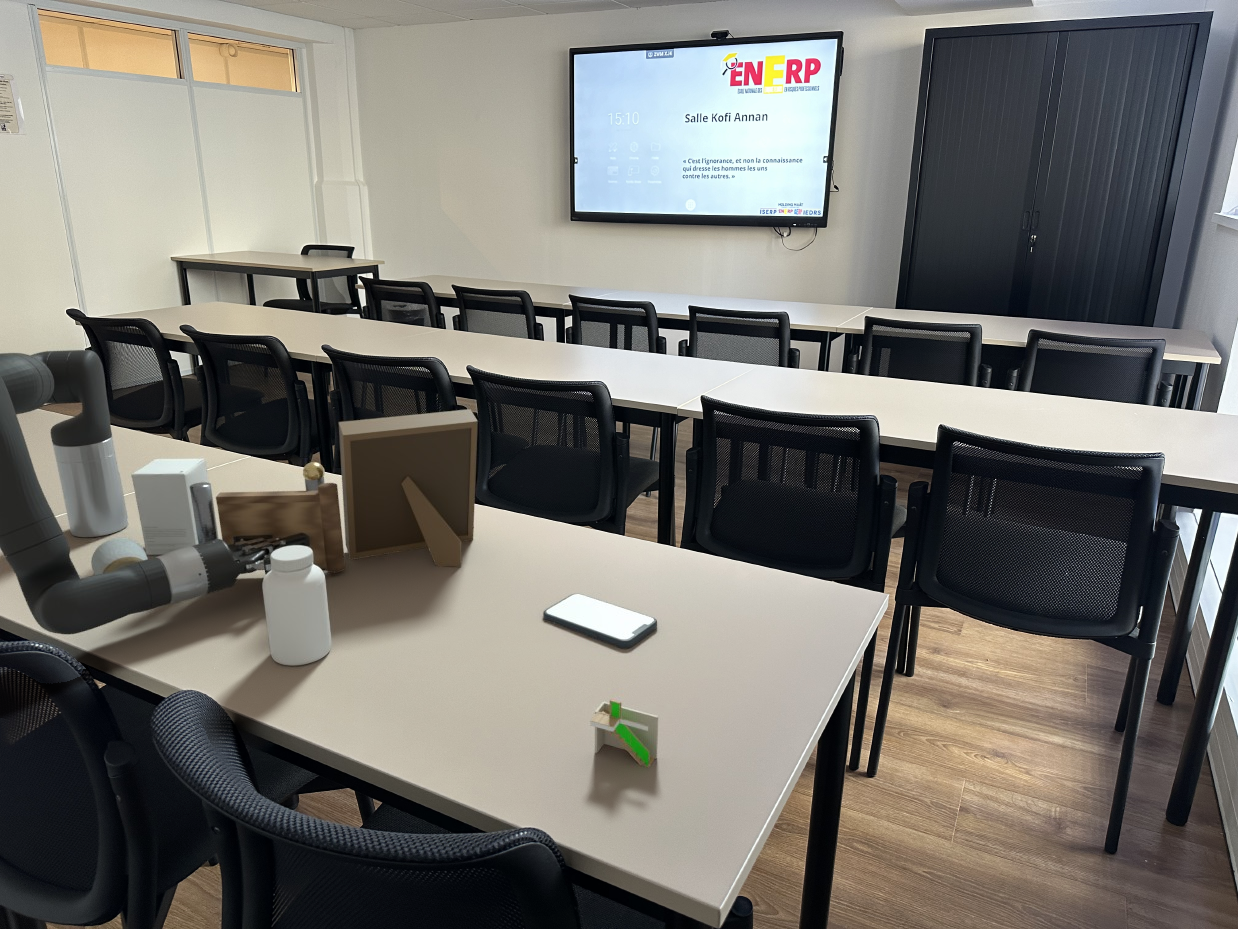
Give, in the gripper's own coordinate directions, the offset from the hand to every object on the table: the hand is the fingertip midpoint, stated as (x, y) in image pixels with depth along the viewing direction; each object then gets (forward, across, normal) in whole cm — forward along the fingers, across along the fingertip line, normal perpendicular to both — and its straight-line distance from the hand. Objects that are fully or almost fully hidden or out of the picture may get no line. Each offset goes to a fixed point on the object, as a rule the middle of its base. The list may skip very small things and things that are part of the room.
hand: (306, 539), depth 137 cm
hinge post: (-11, +11, +7) cm, 17 cm away
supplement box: (-10, +28, +7) cm, 31 cm away
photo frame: (+17, -4, +7) cm, 19 cm away
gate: (-2, +4, +6) cm, 7 cm away
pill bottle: (-12, -21, +7) cm, 25 cm away
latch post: (+4, +4, +7) cm, 9 cm away
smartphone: (+24, -43, +8) cm, 50 cm away
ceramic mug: (-21, +16, +7) cm, 28 cm away
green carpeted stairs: (+4, -68, +8) cm, 68 cm away
